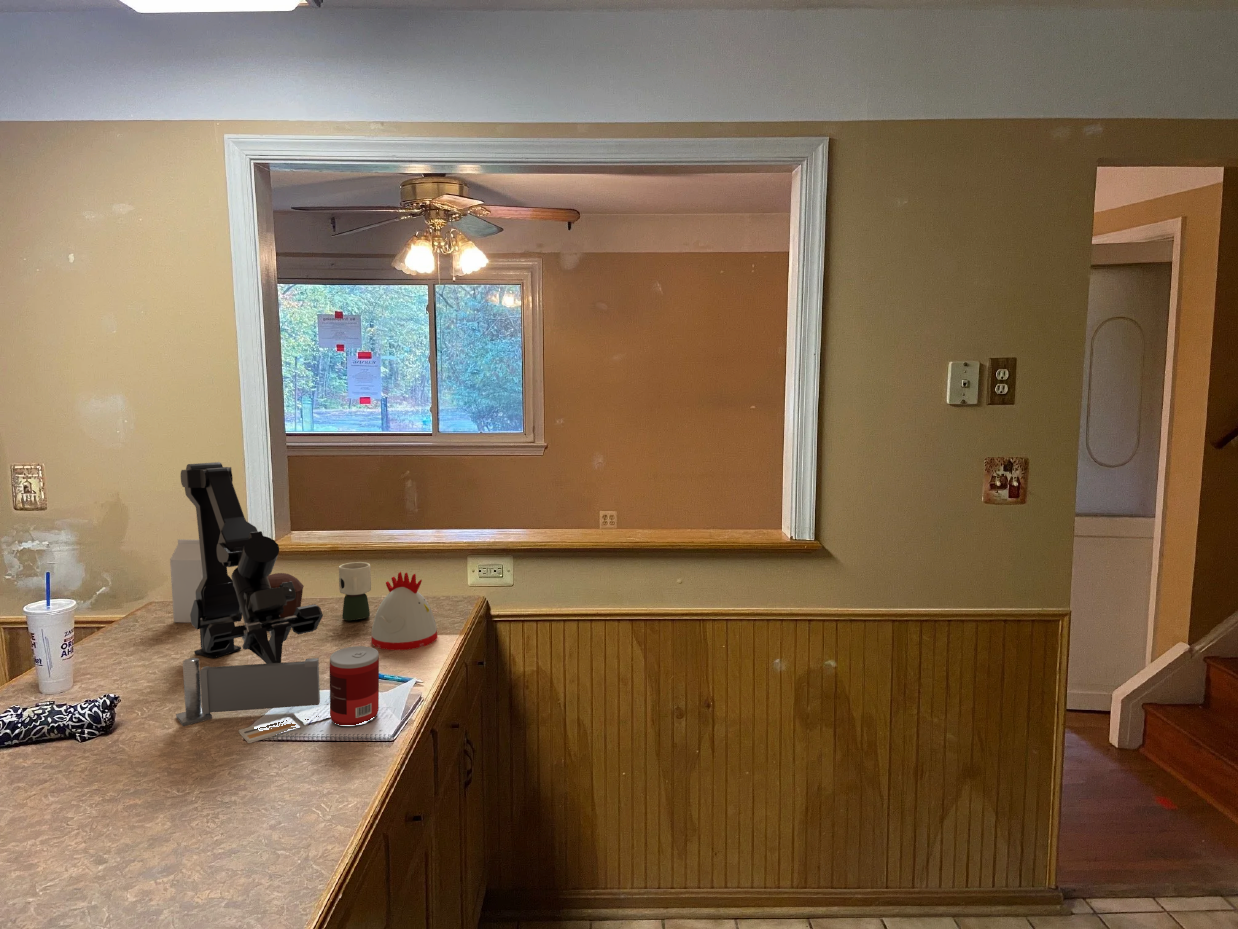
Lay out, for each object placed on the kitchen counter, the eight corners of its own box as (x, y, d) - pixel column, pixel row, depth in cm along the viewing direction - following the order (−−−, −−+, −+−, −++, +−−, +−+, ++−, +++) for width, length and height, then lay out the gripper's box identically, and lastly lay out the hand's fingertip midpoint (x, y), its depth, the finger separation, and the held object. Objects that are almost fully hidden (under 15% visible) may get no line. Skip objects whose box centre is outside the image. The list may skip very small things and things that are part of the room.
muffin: (258, 610, 191) (256, 570, 190) (306, 606, 194) (304, 567, 193) (250, 625, 180) (248, 583, 179) (302, 621, 183) (300, 579, 182)
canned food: (385, 707, 135) (386, 647, 133) (366, 730, 127) (366, 666, 125) (343, 703, 136) (343, 643, 134) (321, 725, 128) (320, 662, 126)
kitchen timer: (419, 652, 163) (417, 582, 161) (359, 647, 166) (357, 578, 164) (447, 631, 176) (445, 566, 175) (391, 627, 179) (389, 563, 178)
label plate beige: (289, 718, 131) (289, 715, 131) (300, 728, 127) (300, 725, 127) (238, 732, 126) (238, 729, 126) (248, 743, 122) (248, 740, 122)
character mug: (341, 613, 189) (340, 561, 188) (372, 611, 191) (371, 559, 190) (338, 627, 179) (337, 572, 177) (371, 624, 181) (369, 570, 179)
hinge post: (182, 726, 128) (179, 667, 127) (176, 717, 131) (172, 660, 130) (212, 718, 131) (209, 661, 130) (204, 710, 134) (201, 654, 133)
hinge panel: (202, 714, 130) (199, 668, 129) (205, 709, 132) (203, 664, 131) (318, 705, 134) (316, 661, 133) (320, 701, 136) (318, 657, 135)
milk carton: (203, 623, 181) (199, 543, 179) (173, 623, 181) (168, 542, 179) (219, 614, 188) (215, 536, 186) (190, 613, 188) (186, 536, 186)
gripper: (204, 577, 130) (227, 660, 123) (317, 560, 142) (343, 635, 135) (194, 612, 136) (215, 692, 129) (303, 593, 149) (327, 665, 142)
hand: (277, 670), depth 134 cm, fingers closed
